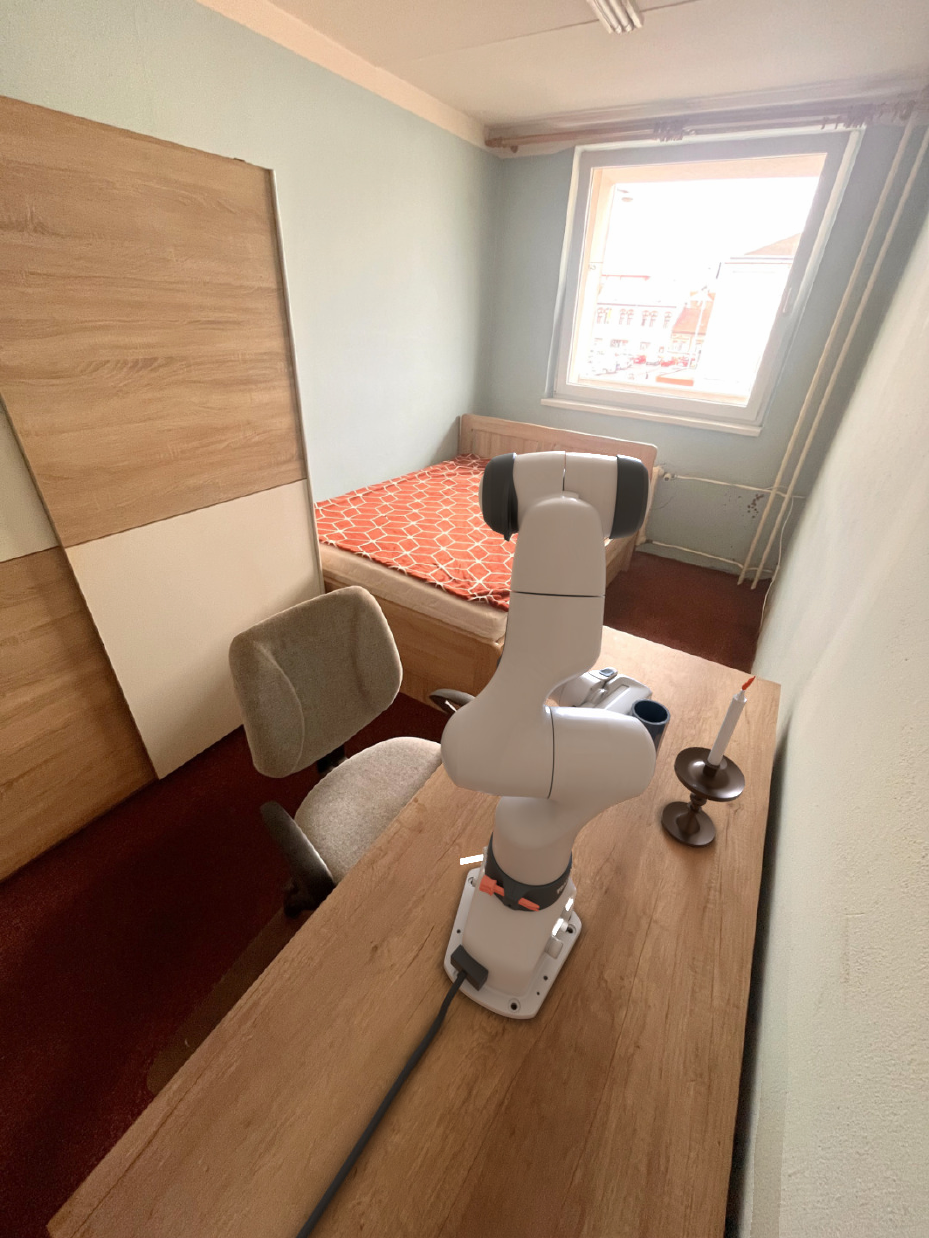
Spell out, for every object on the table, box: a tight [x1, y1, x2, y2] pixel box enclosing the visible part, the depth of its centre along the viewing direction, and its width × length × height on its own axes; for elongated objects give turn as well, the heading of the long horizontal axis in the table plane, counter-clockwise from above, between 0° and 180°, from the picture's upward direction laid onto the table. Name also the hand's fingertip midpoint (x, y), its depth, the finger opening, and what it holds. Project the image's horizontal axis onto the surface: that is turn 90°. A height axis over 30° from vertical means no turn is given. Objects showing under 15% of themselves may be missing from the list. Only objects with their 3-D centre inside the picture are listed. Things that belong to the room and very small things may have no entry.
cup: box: [629, 699, 671, 761], centre depth 92 cm, size 7×7×11 cm
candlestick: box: [660, 675, 756, 849], centre depth 83 cm, size 11×11×35 cm
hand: (649, 734), depth 91 cm, fingers closed on cup, 6 cm apart
